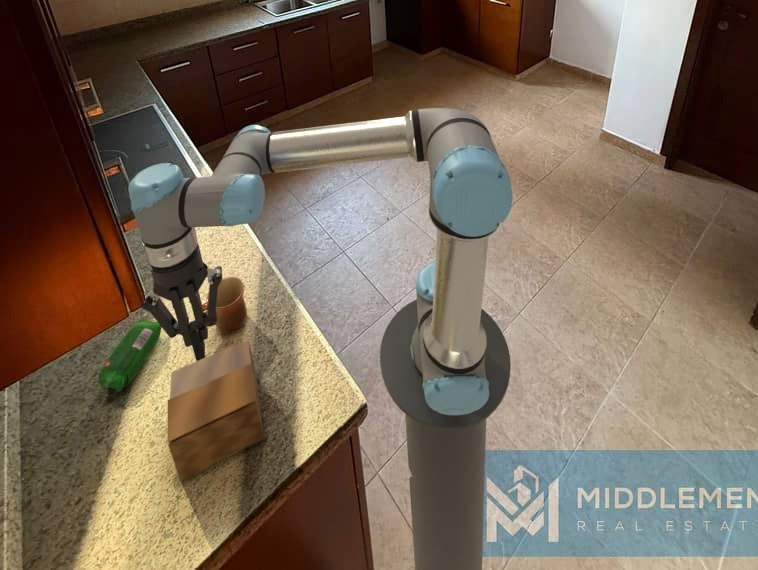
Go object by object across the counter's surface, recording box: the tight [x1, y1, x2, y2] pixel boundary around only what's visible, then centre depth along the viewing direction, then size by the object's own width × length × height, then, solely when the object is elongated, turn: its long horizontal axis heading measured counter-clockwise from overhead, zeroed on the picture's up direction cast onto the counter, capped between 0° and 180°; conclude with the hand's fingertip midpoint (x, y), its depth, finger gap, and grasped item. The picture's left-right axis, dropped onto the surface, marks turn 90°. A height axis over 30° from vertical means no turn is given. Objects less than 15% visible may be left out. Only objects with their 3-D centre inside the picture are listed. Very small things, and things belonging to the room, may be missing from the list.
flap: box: [167, 364, 256, 443], centre depth 80 cm, size 15×6×1 cm, turn 114°
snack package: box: [98, 317, 163, 392], centre depth 100 cm, size 7×16×5 cm, turn 173°
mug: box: [193, 276, 248, 335], centre depth 105 cm, size 12×9×10 cm
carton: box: [167, 339, 265, 482], centre depth 85 cm, size 15×13×11 cm
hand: (200, 352), depth 79 cm, fingers closed
